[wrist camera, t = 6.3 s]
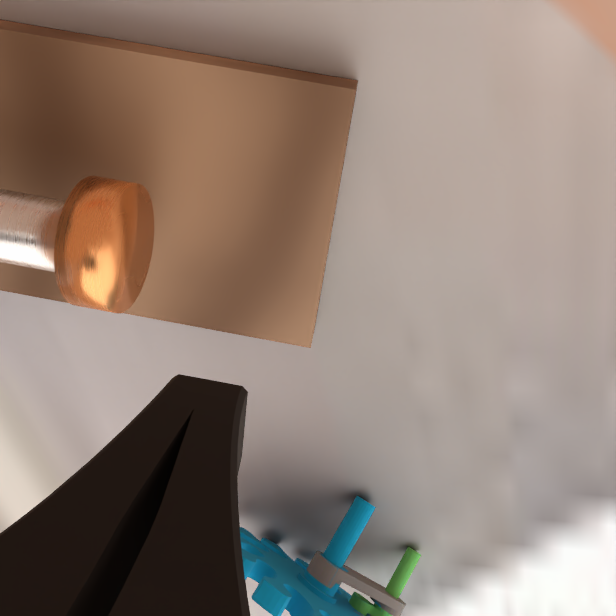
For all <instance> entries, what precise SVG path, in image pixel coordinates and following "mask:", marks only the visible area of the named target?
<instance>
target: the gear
mask: <svg viewBox="0 0 616 616" xmlns="http://www.w3.org/2000/svg"><path fill="white" fill-rule="evenodd" d="M375 508H376V507H374V506H373V505H371V504H370V503H368V502H367V501H365V500H364V499H362V498H360V497H359V496H356V498H355V500H354V502H353V503H352V505H351V507H350V508H349V510H348V512H347V514H346V515H345V517H344V519H343V521H342V522H341V524H340V526H339V527H338V529H337V531H336V533H335V534H334V536H333V538H332V540H331V541H330V543H329V545H328V547H327V548H326V550H325V552H324V553H322V552H320V551H317V552H316V554H315V555H314V557H313V559H312V561H311V562H310V564H308V563H306V562H304V561H303V560H301V559H299V558H297V559H296V560H295V562H294V561H293V560H292V559H291V558H290V557H289V556H288V555H287V554H286V553H285V552H284V551H283V550H282V549H281V548H280V547H279V546H278V545H277V544H275V543H274V542H272V541H270V540H268V539H266V538H262V539H261V541H259V540H258V539H257V538H256V537H255V536H253V535H252V534H251V533H250V532H248V531H247V530H246V529H244V528H242V527H240V539H241V549H242V559H243V568H244V575H245V580H246V578H247V577H250V578H252V579H254V580H255V581H257V582H258V583H259V585H258V587H257V588H256V590H255V592H254V593H253V595H252V599H253V600H254V601H255V602H256V603H258V604H259V605H260V606H261V607H262V608H264V609H265V610H266V611H268V612H269V613H270V614H272V615H273V616H281V614H282V613H283V611H284V609H286V610H287V611H289V612H290V615H291V616H400V615H401V613H402V611H403V609H404V607H405V605H406V604H405V603H404V602H403V601H402V600H401V599H400V598H399V596H400V594H401V592H402V590H403V588H404V586H405V585H406V583H407V581H408V579H409V577H410V575H411V573H412V571H413V569H414V568H415V566H416V564H417V562H418V560H419V558H420V556H421V555H420V554H419V553H417V552H416V551H414V550H413V549H411V548H410V547H408V548H407V550H406V552H405V554H404V555H403V557H402V559H401V561H400V563H399V565H398V567H397V568H396V570H395V572H394V574H393V576H392V578H391V580H390V581H389V583H388V585H387V587H386V588H385V587H383V586H381V585H379V584H378V583H376V582H374V581H372V580H370V579H369V578H367V577H365V576H363V575H361V574H360V573H358V572H356V571H354V570H352V569H351V568H349V567H347V566H345V565H344V563H345V561H346V559H347V557H348V556H349V554H350V552H351V550H352V549H353V547H354V545H355V543H356V542H357V540H358V538H359V536H360V534H361V533H362V531H363V529H364V527H365V526H366V524H367V522H368V520H369V519H370V517H371V515H372V513H373V512H374V510H375ZM341 582H343V583H345V584H347V585H349V586H351V587H353V588H355V589H357V590H359V591H360V592H362V593H364V594H366V595H368V596H370V598H371V599H372V600H373V601H374V602H375V603H374V605H373V604H372V603H370V602H369V601H368V600H367V599H365V598H364V597H363V596H361V595H360V594H358V593H356V592H354V593H353V595H352V596H351V595H350V594H349V593H347V592H346V591H344V590H343V589H342V588H340V587H339V586H340V584H341Z"/></svg>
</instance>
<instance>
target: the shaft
mask: <svg viewBox="0 0 616 616" xmlns="http://www.w3.org/2000/svg"><path fill="white" fill-rule="evenodd" d="M153 243H154V211H153V205H152V201H151V198H150V195H149V193H148V191H147V189H146V188H145V187H144V186H143V185H141V184H138V183H132V182H127V181H121V180H116V179H110V178H104V177H99V176H89V177H86V178H84V179H82V180H81V181H80V182H79V183H78V184H77V185H76V186H75V187H74V188H73V190H72V191H71V193H70V194H69V196H68V198H67V200H66V201H65V200H60V199H54V198H49V197H43V196H37V195H32V194H26V193H21V192H15V191H10V190H4V189H0V262H3V263H8V264H14V265H19V266H25V267H30V268H35V269H41V270H46V271H52V272H55V276H56V281H57V284H58V287H59V290H60V292H61V294H62V296H63V297H64V299H65V300H66V301H67V302H69V303H70V304H72V305H76V306H81V307H87V308H92V309H97V310H103V311H108V312H113V313H123V312H125V311H126V310H128V309H129V308H130V307H131V306H132V305H133V303H134V302H135V301H136V299H137V297H138V296H139V294H140V292H141V289H142V287H143V285H144V282H145V280H146V276H147V273H148V270H149V266H150V262H151V257H152V251H153Z"/></svg>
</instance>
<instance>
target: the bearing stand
mask: <svg viewBox="0 0 616 616" xmlns="http://www.w3.org/2000/svg"><path fill="white" fill-rule="evenodd" d="M357 83H358V81H357V80H351V79H345V78H339V77H334V76H328V75H322V74H316V73H310V72H304V71H298V70H293V69H287V68H281V67H275V66H269V65H263V64H257V63H251V62H246V61H240V60H234V59H228V58H222V57H216V56H210V55H205V54H199V53H193V52H187V51H181V50H175V49H169V48H163V47H158V46H152V45H146V44H140V43H134V42H128V41H122V40H117V39H111V38H105V37H99V36H93V35H87V34H81V33H75V32H70V31H64V30H58V29H52V28H46V27H40V26H34V25H29V24H23V23H17V22H11V21H5V20H0V189H4V190H10V191H15V192H21V193H26V194H32V195H37V196H43V197H49V198H54V199H60V200H65V201H66V200H67V198H68V196H69V194H70V193H71V191H72V190H73V188H74V187H75V186H76V185H77V184H78V183H79V182H80V181H81V180H82V179H84V178H86V177H89V176H99V177H104V178H110V179H116V180H121V181H127V182H132V183H138V184H141V185H143V186H144V187H145V188H146V189H147V191H148V193H149V195H150V198H151V201H152V205H153V211H154V243H153V251H152V257H151V262H150V266H149V270H148V273H147V276H146V280H145V282H144V285H143V287H142V289H141V292H140V294H139V296H138V297H137V299H136V301H135V302H134V303H133V305H132V306H131V307H130V308H129V309H128V310H126V311H125V312H123V313H126V314H131V315H137V316H142V317H147V318H153V319H158V320H163V321H169V322H174V323H180V324H185V325H190V326H196V327H201V328H206V329H212V330H217V331H223V332H228V333H233V334H239V335H244V336H249V337H255V338H260V339H266V340H271V341H276V342H282V343H287V344H292V345H298V346H303V347H309V348H311V343H312V338H313V333H314V328H315V322H316V317H317V311H318V305H319V300H320V294H321V288H322V282H323V277H324V271H325V265H326V260H327V254H328V248H329V243H330V237H331V231H332V226H333V220H334V214H335V208H336V203H337V197H338V191H339V186H340V180H341V174H342V169H343V163H344V157H345V152H346V146H347V140H348V134H349V129H350V123H351V117H352V112H353V106H354V100H355V95H356V89H357ZM0 290H2V291H8V292H13V293H18V294H24V295H29V296H34V297H40V298H45V299H51V300H56V301H61V302H67V301H66V300H65V299H64V297H63V296H62V294H61V292H60V290H59V287H58V284H57V281H56V276H55V272H52V271H46V270H41V269H35V268H30V267H25V266H19V265H14V264H8V263H3V262H0ZM67 303H69V302H67Z"/></svg>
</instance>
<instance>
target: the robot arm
mask: <svg viewBox="0 0 616 616" xmlns="http://www.w3.org/2000/svg"><path fill="white" fill-rule="evenodd" d="M247 394H248V392H247V391H246V390H245V389H244V387H243V386H239V385H233V384H228V383H223V382H217V381H212V380H207V379H201V378H196V377H190V376H185V375H180V374H179V375H177V376H175V377H173V378H172V379H171V380H170V382H169V383H168V384H167V385H166V386H165V387H164V388H163V389H162V390H161V391H160V393H159V394H158V395H157V396H156V397H155V398H154V399H153V400H152V401H151V402H150V403H149V404H148V405H147V406H146V407H145V408H144V409H143V410H142V411H141V412H140V413H139V414H138V415H137V416H136V417H135V418H134V419H133V420H132V421H131V422H130V423H129V424H128V425H127V426H126V427H125V428H124V429H123V430H122V431H121V432H120V433H119V434H118V435H117V436H116V437H115V438H114V439H113V440H112V441H110V442H109V443H108V444H107V445H106V446H105V447H104V448H103V449H102V450H101V451H100V452H99V453H98V454H97V455H96V456H94V457H93V458H92V459H91V460H90V461H89V462H88V463H87V464H85V465H84V466H83V467H82V468H81V469H80V470H78V471H77V472H76V473H75V474H74V475H73V476H71V477H70V478H69V479H68V480H67V481H66V482H64V483H63V484H62V485H61V486H60V487H59V488H57V489H56V490H55V491H54V492H53V493H52V494H50V495H49V496H48V497H47V498H46V499H44V500H43V501H42V502H41V503H39V504H38V505H37V506H36V507H34V508H33V509H32V510H30V511H29V512H28V513H27V514H25V515H24V516H23V517H21V518H20V519H19V520H18V521H16V522H15V523H14V524H12V525H11V526H10V527H8V528H7V529H6V530H4V531H3V532H2V533H0V616H250V611H249V605H248V598H247V591H246V583H245V575H244V568H243V559H242V549H241V539H240V526H239V512H238V490H237V476H238V471H239V466H240V462H241V457H242V448H243V437H244V426H245V416H246V405H247Z"/></svg>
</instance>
